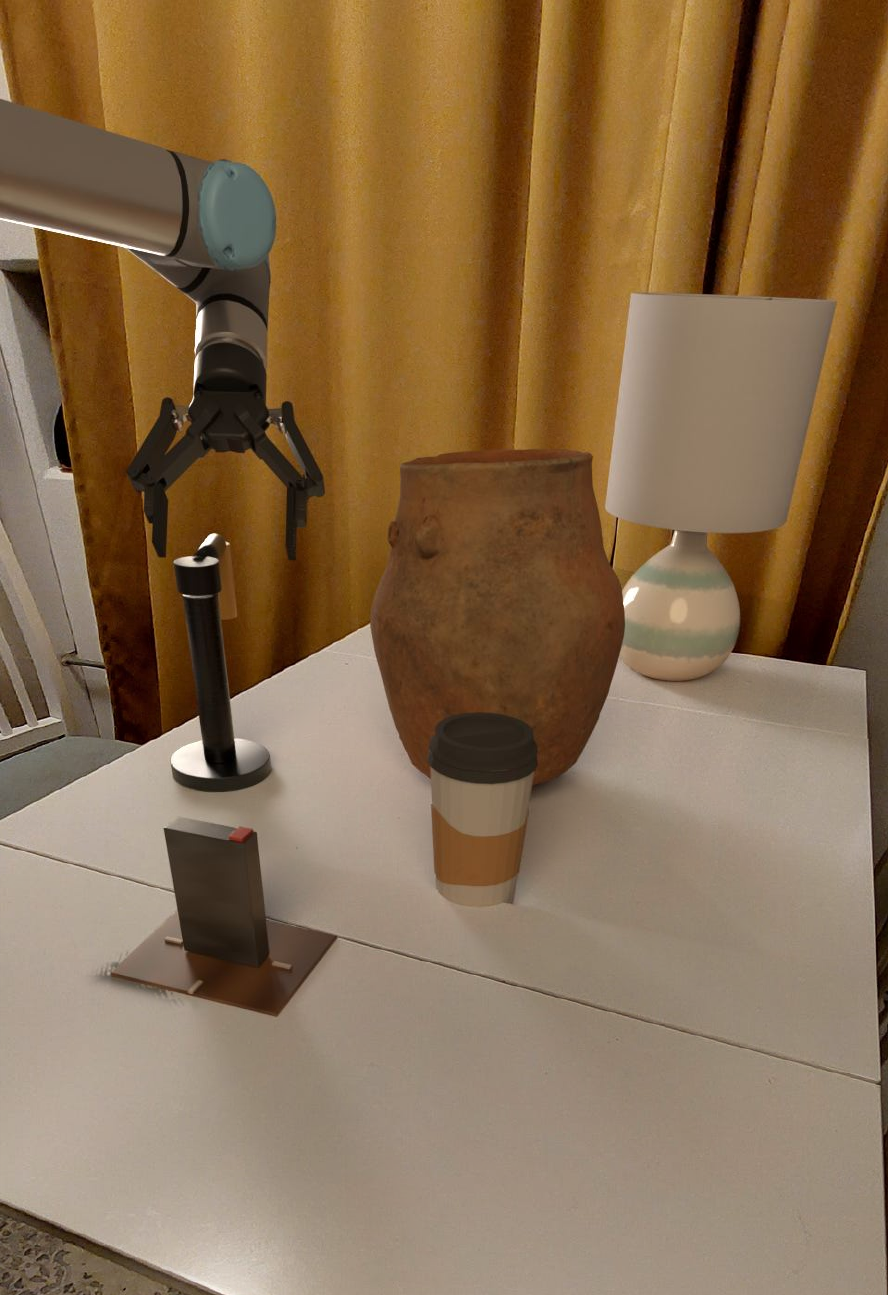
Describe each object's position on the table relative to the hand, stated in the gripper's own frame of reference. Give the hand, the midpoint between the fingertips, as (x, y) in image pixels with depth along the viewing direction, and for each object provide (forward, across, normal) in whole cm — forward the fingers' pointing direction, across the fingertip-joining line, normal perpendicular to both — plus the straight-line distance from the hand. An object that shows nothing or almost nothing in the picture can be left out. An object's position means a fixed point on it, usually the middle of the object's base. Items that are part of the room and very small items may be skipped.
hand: (225, 551), depth 97 cm
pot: (+22, -28, -3) cm, 36 cm away
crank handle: (+10, 0, +3) cm, 11 cm away
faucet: (+23, 0, -3) cm, 23 cm away
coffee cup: (+41, -25, +15) cm, 50 cm away
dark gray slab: (+46, -6, +24) cm, 52 cm away
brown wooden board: (+48, -6, +22) cm, 53 cm away
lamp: (-1, -54, -26) cm, 60 cm away
